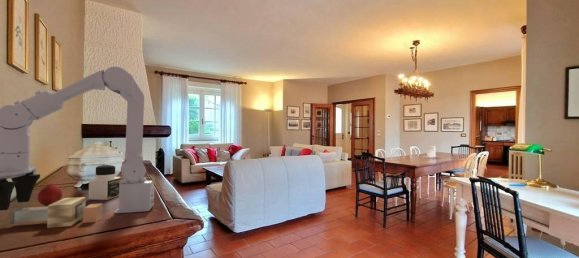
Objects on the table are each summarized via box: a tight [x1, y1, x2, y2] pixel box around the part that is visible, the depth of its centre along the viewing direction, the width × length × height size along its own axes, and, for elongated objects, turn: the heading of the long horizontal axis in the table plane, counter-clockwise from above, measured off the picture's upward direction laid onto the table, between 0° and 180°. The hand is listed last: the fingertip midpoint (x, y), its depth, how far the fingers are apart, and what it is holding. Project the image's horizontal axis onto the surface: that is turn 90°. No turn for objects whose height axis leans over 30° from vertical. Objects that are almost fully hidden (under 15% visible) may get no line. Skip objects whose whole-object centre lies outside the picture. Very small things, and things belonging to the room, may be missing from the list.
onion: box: [37, 181, 63, 207], centre depth 83 cm, size 6×6×8 cm
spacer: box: [82, 203, 104, 224], centre depth 72 cm, size 4×4×3 cm
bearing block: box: [46, 196, 87, 229], centre depth 70 cm, size 5×8×6 cm, turn 17°
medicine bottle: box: [88, 164, 122, 201], centre depth 96 cm, size 7×7×12 cm
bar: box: [9, 204, 86, 225], centre depth 69 cm, size 15×3×3 cm, turn 107°
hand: (13, 205), depth 66 cm, fingers open, 7 cm apart
